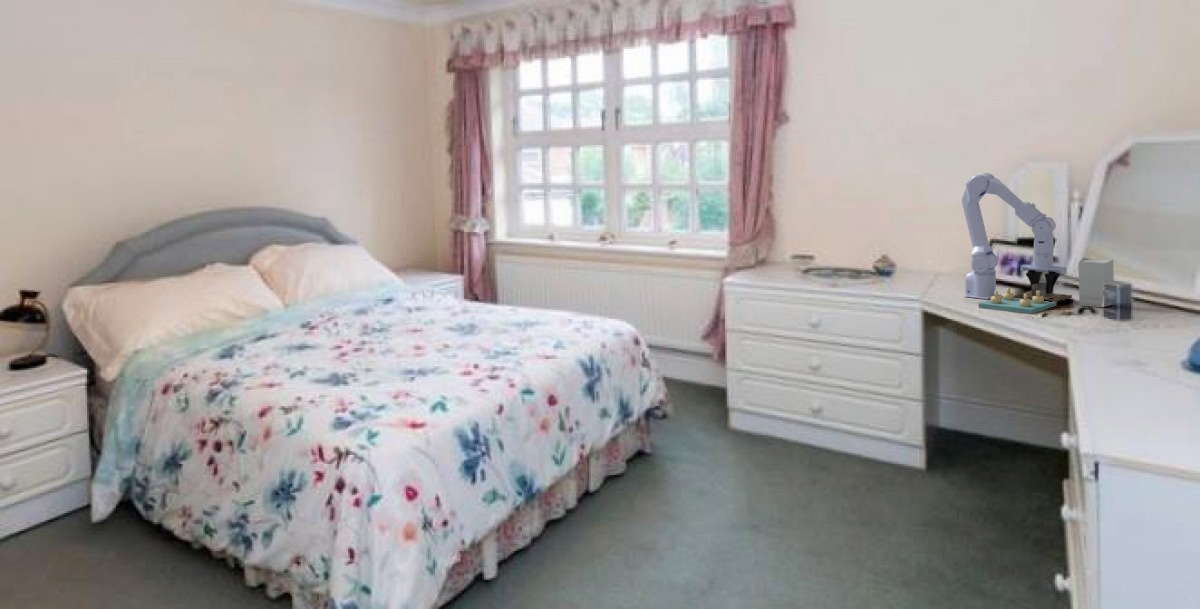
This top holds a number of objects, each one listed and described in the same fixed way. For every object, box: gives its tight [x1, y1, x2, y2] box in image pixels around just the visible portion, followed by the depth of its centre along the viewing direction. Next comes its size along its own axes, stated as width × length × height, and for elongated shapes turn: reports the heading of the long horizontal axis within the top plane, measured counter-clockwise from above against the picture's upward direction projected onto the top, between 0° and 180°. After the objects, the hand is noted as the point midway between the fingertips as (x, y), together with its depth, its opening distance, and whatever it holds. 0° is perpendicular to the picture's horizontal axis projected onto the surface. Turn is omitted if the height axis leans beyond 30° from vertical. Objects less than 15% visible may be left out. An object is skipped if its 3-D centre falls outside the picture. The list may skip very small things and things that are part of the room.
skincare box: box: [1078, 258, 1115, 308], centre depth 239 cm, size 8×6×15 cm
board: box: [1014, 281, 1073, 303], centre depth 254 cm, size 14×10×5 cm
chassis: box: [978, 287, 1057, 315], centre depth 247 cm, size 18×14×6 cm
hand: (1042, 292), depth 254 cm, fingers closed on board, 4 cm apart
